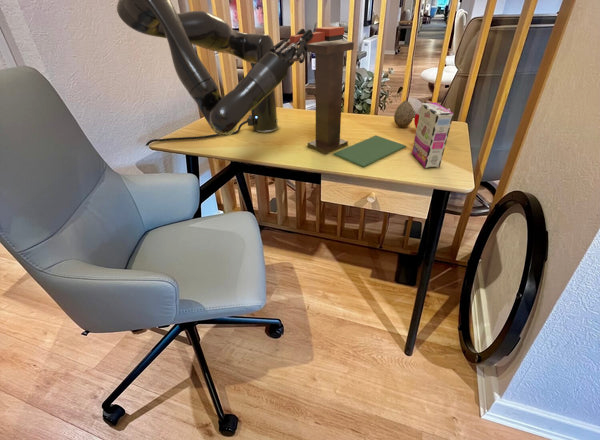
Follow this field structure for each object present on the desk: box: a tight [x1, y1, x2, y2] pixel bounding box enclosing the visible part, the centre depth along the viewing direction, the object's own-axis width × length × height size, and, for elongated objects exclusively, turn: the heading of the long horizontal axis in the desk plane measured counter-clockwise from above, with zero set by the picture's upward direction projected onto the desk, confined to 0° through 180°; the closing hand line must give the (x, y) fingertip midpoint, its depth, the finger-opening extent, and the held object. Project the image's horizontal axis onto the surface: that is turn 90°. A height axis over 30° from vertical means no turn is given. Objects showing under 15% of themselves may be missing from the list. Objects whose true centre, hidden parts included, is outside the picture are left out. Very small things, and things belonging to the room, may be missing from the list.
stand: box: [307, 40, 355, 156], centre depth 100 cm, size 11×9×32 cm
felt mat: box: [333, 135, 407, 168], centre depth 105 cm, size 22×13×1 cm, turn 130°
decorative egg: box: [393, 100, 415, 128], centre depth 119 cm, size 7×7×10 cm
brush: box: [289, 25, 345, 46], centre depth 86 cm, size 17×6×3 cm, turn 130°
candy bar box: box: [411, 102, 455, 169], centre depth 93 cm, size 11×5×16 cm, turn 5°
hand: (307, 32), depth 84 cm, fingers closed on brush, 2 cm apart
